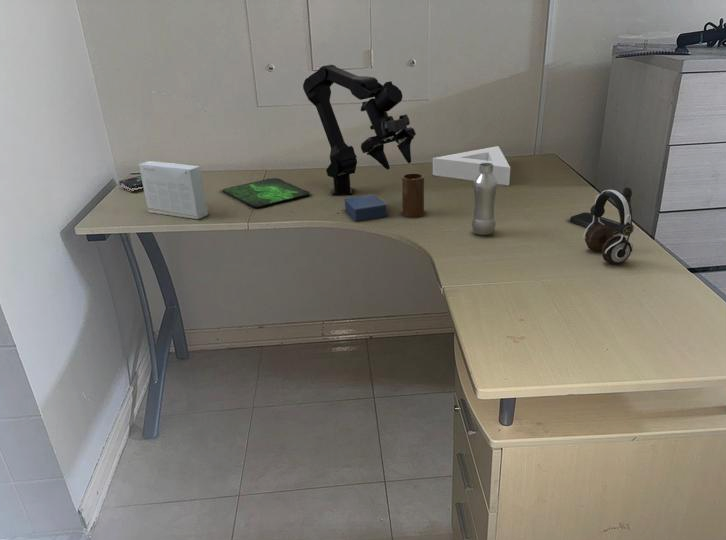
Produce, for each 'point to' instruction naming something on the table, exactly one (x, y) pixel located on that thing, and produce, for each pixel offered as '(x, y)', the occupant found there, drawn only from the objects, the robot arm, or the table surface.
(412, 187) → the brown wooden cylinder
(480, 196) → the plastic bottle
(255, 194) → the mouse mat
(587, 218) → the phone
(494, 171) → the triangle block
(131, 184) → the disk drive
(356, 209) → the box
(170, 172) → the skincare box
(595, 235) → the headset
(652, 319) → the table surface
